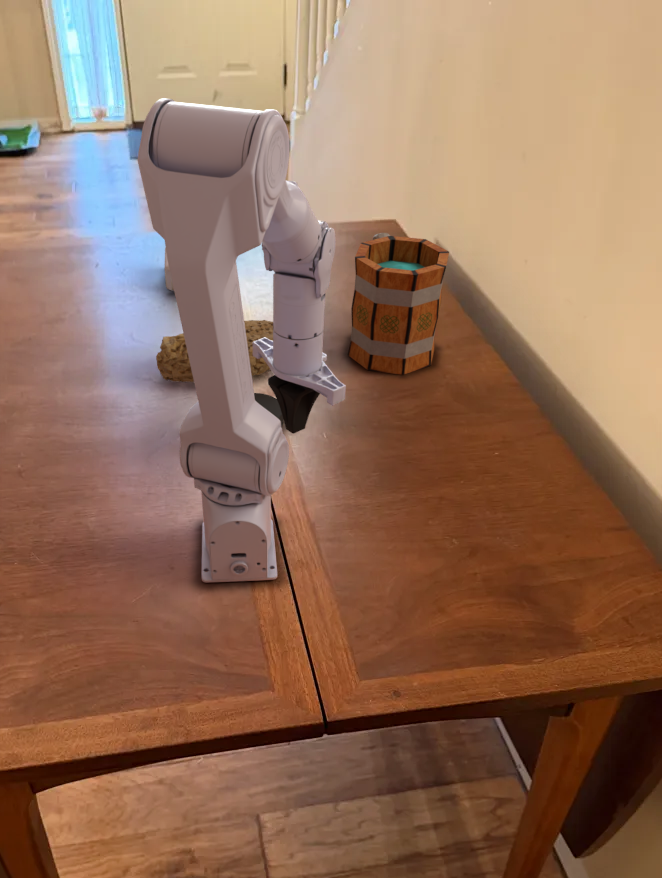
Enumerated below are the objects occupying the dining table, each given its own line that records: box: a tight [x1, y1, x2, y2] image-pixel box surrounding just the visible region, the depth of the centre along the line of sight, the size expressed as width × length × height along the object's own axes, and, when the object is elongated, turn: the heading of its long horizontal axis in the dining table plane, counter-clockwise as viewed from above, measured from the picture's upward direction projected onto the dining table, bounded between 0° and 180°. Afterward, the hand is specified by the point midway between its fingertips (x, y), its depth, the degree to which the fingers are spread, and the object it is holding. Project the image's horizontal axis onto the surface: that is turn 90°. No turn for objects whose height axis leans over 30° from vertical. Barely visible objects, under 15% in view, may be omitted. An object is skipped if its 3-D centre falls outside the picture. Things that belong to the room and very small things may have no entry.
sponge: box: [155, 319, 273, 383], centre depth 111 cm, size 13×8×20 cm
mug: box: [347, 232, 450, 376], centre depth 115 cm, size 20×14×15 cm
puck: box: [254, 392, 284, 428], centre depth 103 cm, size 8×8×2 cm
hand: (295, 428), depth 97 cm, fingers closed
